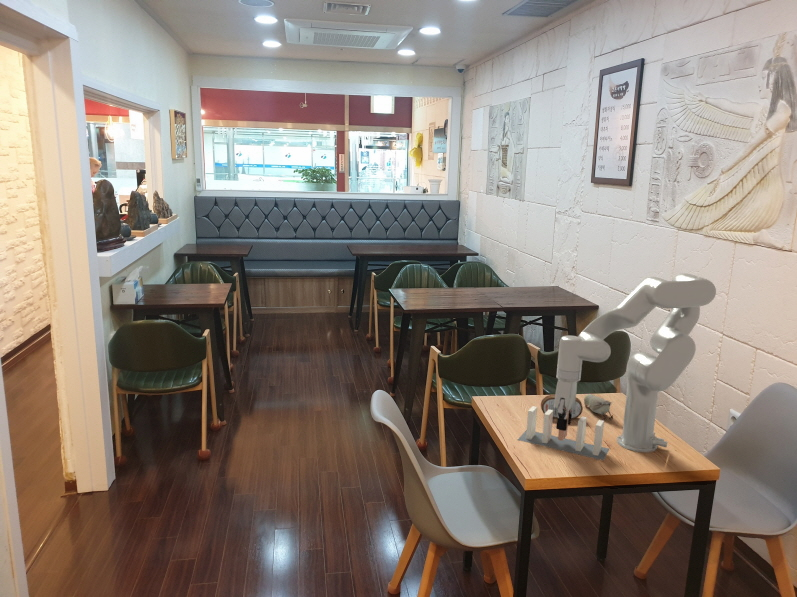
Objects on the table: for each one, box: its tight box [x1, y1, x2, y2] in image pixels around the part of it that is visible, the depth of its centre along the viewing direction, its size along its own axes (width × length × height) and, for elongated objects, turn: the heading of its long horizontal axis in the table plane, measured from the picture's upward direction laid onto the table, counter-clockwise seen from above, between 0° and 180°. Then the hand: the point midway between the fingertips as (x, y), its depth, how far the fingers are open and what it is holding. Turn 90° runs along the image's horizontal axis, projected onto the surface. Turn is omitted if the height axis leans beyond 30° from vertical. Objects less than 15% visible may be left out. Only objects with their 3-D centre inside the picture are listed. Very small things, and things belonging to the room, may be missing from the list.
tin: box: [540, 394, 583, 420], centre depth 222 cm, size 15×3×8 cm, turn 84°
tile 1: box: [526, 405, 538, 440], centre depth 203 cm, size 2×5×10 cm, turn 150°
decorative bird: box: [583, 393, 614, 421], centre depth 227 cm, size 5×16×8 cm, turn 15°
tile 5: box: [593, 419, 605, 456], centre depth 192 cm, size 2×5×10 cm, turn 150°
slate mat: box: [517, 429, 610, 461], centre depth 199 cm, size 28×10×1 cm, turn 60°
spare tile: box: [557, 408, 569, 441], centre depth 197 cm, size 2×5×10 cm, turn 150°
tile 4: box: [575, 416, 588, 452], centre depth 195 cm, size 2×5×10 cm, turn 150°
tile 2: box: [542, 409, 554, 444], centre depth 200 cm, size 2×5×10 cm, turn 150°
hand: (563, 426), depth 197 cm, fingers closed on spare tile, 4 cm apart
